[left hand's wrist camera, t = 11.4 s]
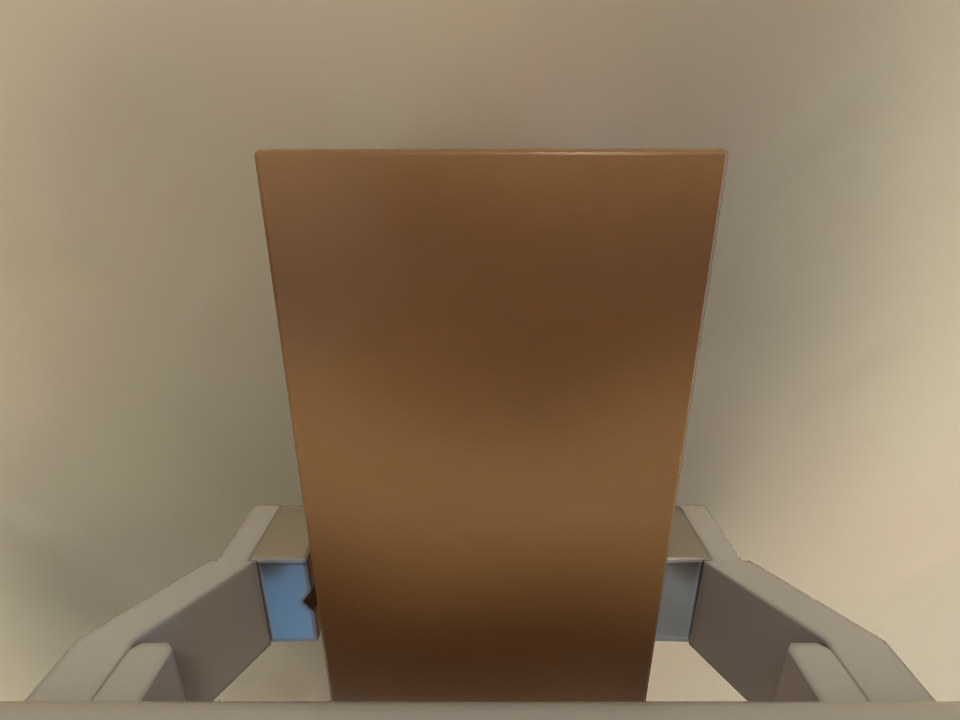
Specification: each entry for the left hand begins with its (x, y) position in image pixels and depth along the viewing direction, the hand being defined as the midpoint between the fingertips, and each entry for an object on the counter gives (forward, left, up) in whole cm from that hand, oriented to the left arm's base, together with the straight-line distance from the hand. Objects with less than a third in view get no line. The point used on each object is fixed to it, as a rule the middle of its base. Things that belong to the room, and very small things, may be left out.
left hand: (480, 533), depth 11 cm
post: (+24, -11, -4) cm, 27 cm away
